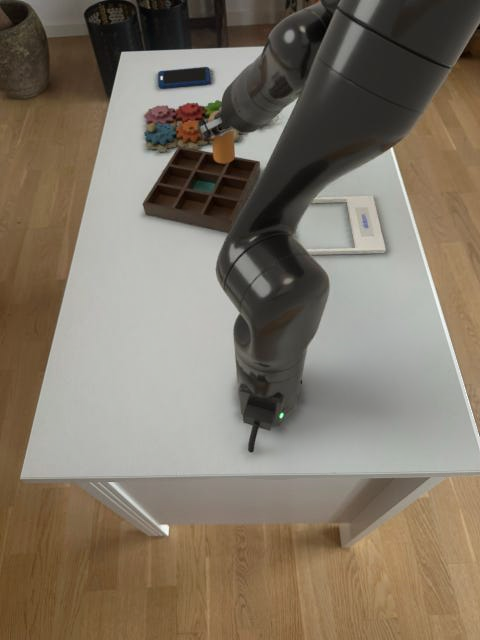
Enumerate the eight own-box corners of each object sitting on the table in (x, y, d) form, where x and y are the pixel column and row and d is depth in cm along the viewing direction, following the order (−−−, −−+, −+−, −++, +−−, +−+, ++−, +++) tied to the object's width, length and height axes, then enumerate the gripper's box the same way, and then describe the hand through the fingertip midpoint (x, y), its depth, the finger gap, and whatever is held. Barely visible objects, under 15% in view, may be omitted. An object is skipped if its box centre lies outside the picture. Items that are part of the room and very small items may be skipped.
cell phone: (158, 73, 120) (158, 71, 119) (209, 69, 120) (209, 66, 120) (158, 88, 116) (158, 85, 116) (211, 83, 116) (210, 81, 116)
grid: (232, 233, 88) (231, 223, 85) (145, 214, 91) (142, 203, 89) (260, 172, 97) (260, 161, 95) (180, 157, 101) (178, 146, 98)
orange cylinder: (230, 165, 81) (227, 125, 74) (210, 161, 82) (205, 121, 75) (237, 152, 83) (235, 112, 76) (218, 148, 83) (214, 108, 77)
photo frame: (385, 249, 82) (289, 251, 83) (384, 253, 83) (289, 255, 84) (373, 195, 90) (285, 197, 91) (372, 199, 91) (284, 201, 92)
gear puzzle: (269, 102, 111) (269, 86, 108) (278, 141, 103) (279, 125, 99) (145, 113, 111) (142, 98, 107) (145, 154, 102) (141, 139, 98)
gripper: (226, 141, 63) (192, 167, 79) (304, 105, 67) (257, 137, 83) (202, 88, 61) (172, 126, 77) (284, 54, 65) (239, 97, 81)
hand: (216, 131), depth 80 cm, fingers closed on orange cylinder, 4 cm apart
